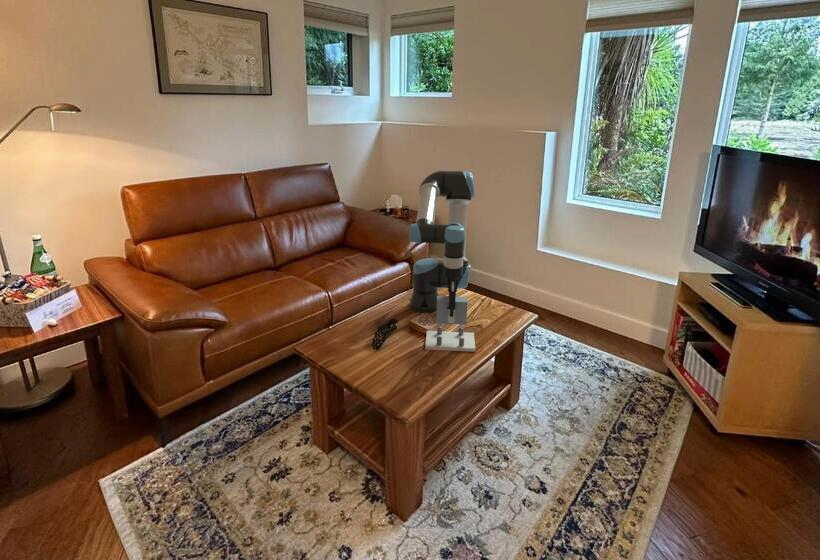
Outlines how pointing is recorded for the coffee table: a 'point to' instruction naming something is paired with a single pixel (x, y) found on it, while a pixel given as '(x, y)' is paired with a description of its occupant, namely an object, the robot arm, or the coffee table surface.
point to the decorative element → (388, 324)
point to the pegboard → (450, 340)
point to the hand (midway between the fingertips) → (451, 319)
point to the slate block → (459, 310)
